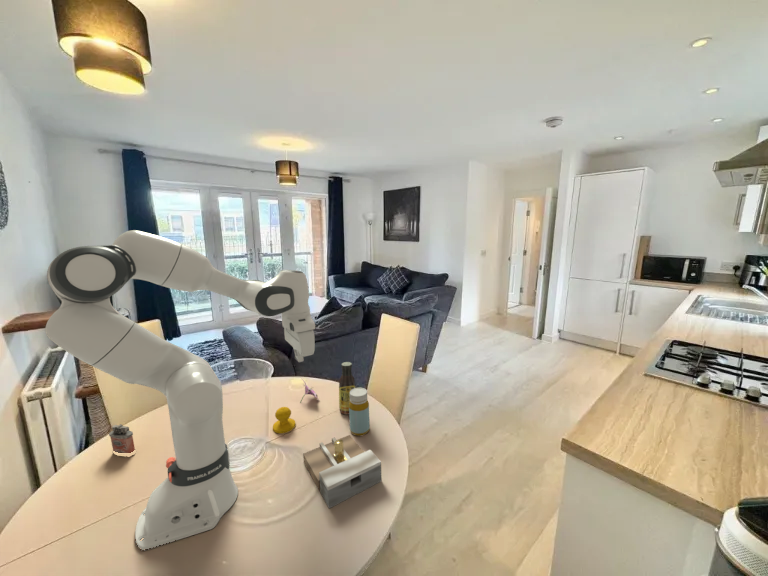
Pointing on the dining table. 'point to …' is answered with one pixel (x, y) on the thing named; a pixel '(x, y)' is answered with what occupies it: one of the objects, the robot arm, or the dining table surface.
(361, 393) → the bottle
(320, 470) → the door latch block
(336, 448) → the bolt
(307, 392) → the lily
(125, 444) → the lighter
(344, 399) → the sauce bottle
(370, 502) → the dining table surface
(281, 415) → the doorknob
